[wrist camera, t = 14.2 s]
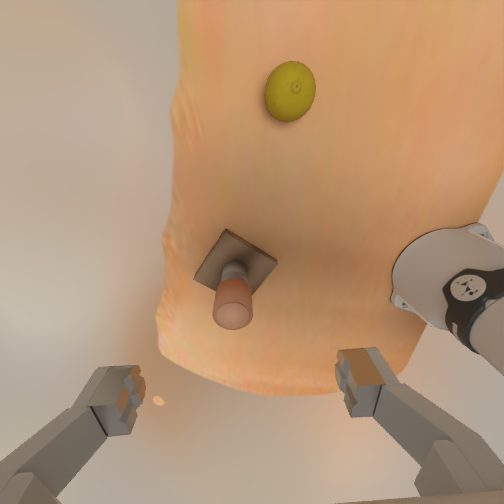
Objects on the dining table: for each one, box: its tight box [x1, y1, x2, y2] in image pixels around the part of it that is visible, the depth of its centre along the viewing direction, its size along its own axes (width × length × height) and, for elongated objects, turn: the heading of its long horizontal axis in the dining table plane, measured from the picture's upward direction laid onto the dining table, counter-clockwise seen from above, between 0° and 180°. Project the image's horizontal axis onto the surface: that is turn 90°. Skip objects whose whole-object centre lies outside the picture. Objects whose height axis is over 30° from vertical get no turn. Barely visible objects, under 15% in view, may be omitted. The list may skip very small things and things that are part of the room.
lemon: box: [264, 61, 316, 122], centre depth 27 cm, size 6×6×8 cm
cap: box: [213, 278, 253, 330], centre depth 32 cm, size 5×5×5 cm
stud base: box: [193, 229, 277, 295], centre depth 37 cm, size 10×10×8 cm
